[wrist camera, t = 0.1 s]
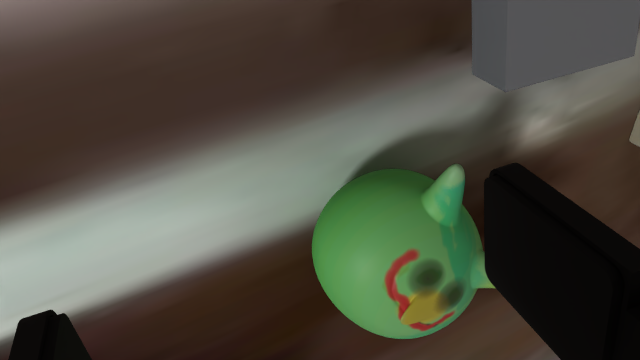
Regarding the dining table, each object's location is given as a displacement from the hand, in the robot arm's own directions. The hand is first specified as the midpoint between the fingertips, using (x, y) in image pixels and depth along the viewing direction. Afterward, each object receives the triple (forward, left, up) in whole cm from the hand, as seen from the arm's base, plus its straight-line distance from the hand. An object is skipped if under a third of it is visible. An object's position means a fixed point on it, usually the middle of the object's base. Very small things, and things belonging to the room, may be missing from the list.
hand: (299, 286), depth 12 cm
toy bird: (+26, +14, -37) cm, 47 cm away
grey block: (+6, +33, -37) cm, 50 cm away
